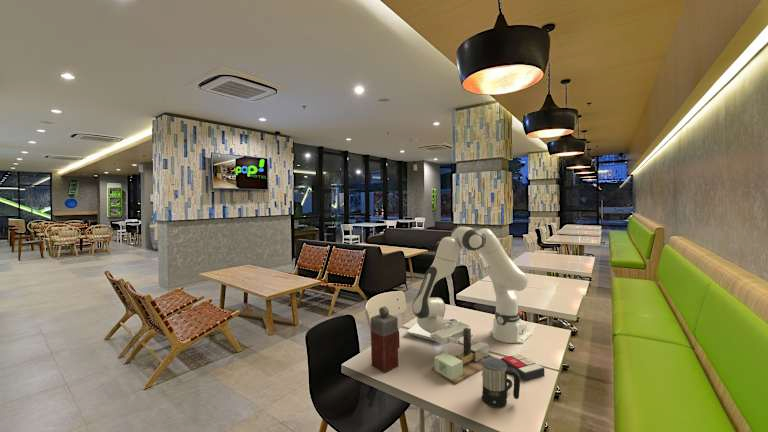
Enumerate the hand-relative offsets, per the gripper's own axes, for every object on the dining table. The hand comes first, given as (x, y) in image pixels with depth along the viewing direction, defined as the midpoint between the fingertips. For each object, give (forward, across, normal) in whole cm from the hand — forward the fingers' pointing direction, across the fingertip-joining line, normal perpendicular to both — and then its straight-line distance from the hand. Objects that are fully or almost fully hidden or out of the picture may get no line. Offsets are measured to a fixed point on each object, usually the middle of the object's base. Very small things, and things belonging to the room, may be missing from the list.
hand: (465, 339), depth 151 cm
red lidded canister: (-22, -29, +12) cm, 38 cm away
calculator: (+18, +16, +13) cm, 27 cm away
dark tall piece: (+1, +3, +10) cm, 10 cm away
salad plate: (-33, +11, +12) cm, 37 cm away
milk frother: (+22, -8, +12) cm, 27 cm away
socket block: (+1, -13, +12) cm, 17 cm away
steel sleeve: (+1, +8, +12) cm, 14 cm away
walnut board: (+1, -1, +12) cm, 12 cm away
